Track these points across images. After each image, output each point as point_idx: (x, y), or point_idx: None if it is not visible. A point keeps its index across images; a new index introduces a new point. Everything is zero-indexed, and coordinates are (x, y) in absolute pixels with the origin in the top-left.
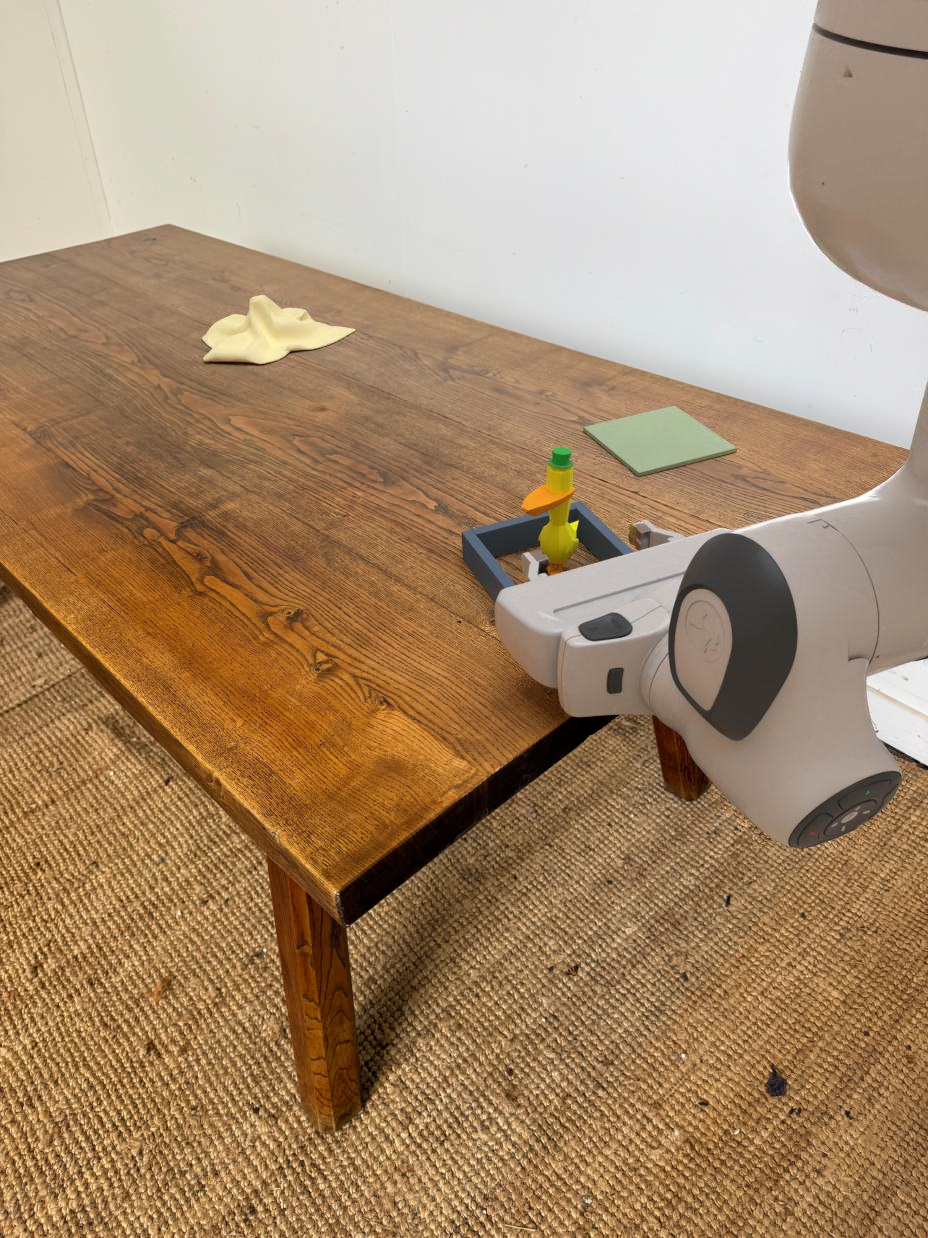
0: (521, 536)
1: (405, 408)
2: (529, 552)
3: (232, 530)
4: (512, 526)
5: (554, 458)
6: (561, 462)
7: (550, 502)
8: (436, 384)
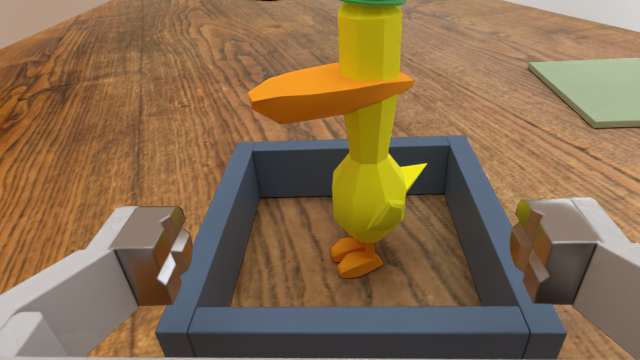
0: None
1: None
2: (135, 209)
3: (75, 100)
4: (321, 152)
5: None
6: None
7: (315, 92)
8: None
